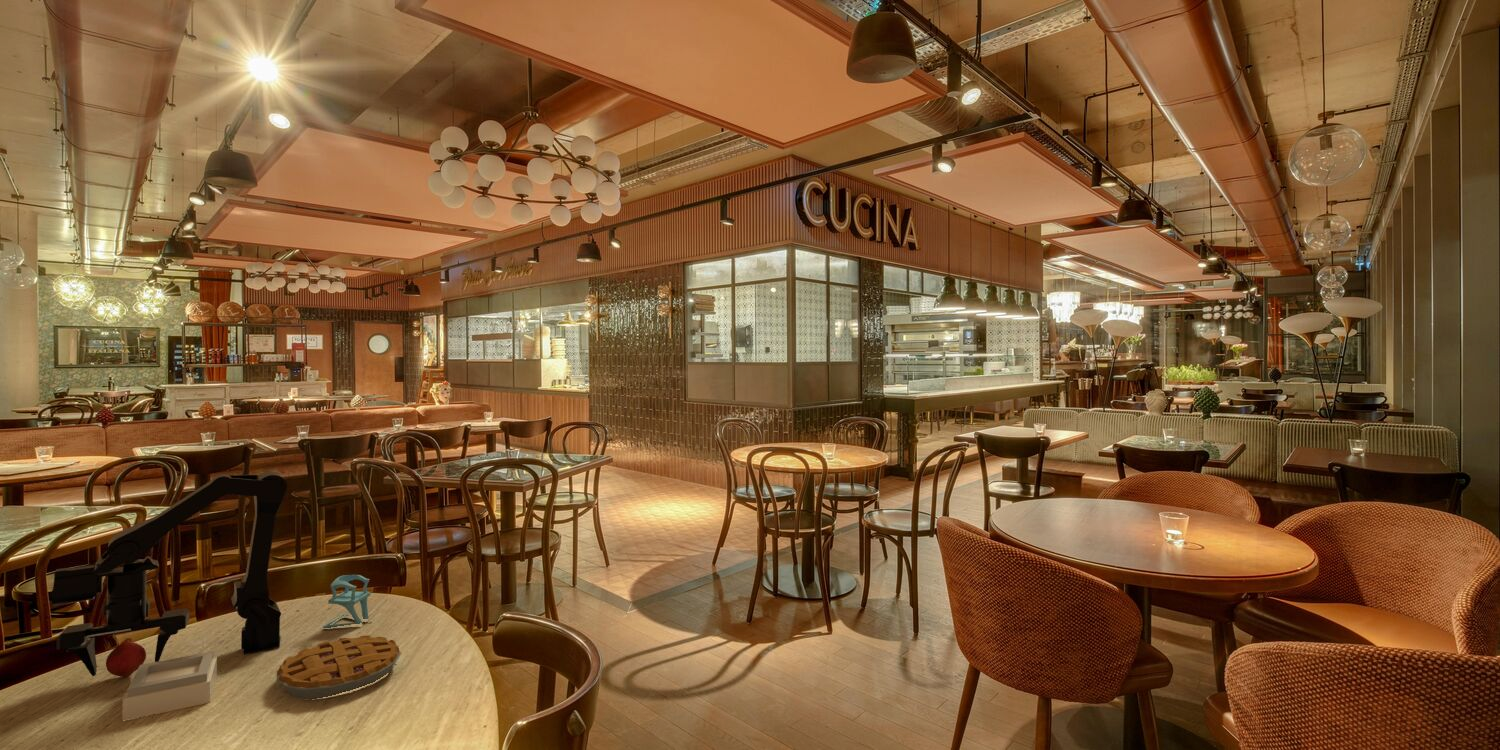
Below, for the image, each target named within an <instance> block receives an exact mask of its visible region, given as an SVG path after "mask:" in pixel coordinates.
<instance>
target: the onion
mask: <svg viewBox="0 0 1500 750" xmlns="http://www.w3.org/2000/svg"><path fill="white" fill-rule="evenodd" d="M132 640H133V639H132V637H126V638H125V639H124V640H123V641H122V642H121V643H120V644H119V645H117V646H116V647H115V648H113V649H112V651H110V652H109V654H108V655H107V658H106V660H105V667H106V670H107V671H108V673H109V674H110V675H113V676H117V677H121V678H129V677H130V676H132V675H133V674H135V673H136V672H137V670H138V668H139V666H140V665H142V664H145V661H146V660H147V652H146V649H145V648H144V647H143V646H142V645H141V644H139V643H137V642H134V641H132ZM134 672H135V673H134Z"/></svg>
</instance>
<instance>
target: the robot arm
mask: <svg viewBox="0 0 1500 750" xmlns="http://www.w3.org/2000/svg"><path fill="white" fill-rule="evenodd" d="M288 487H289V486H288V482H287V480H286V479H285V478H284V476H282V475H281V474H280V473H278V472H276V471H272V470H270V471H265V472H262V473H260V474H225V473H222V474H217V475H216V476H214V477H213V478H212V479H211V480H209V481H208V482H207V483H205V484H203V485H202V486H200V487H198V488H197V489H196V490H194V491H192V492H190V494H187V495H186V496H185V497H183V498H181V499H180V500H178V501H177V502H176V503H173V504H172V505H171V506H169V507H168V508H166V509H165V510H163V511H161V512H160V513H158V514H156V515H155V516H153V517H151V518H148V519H146V520H143V521H141V522H138V523H136V524H134V525H131V526H129V527H128V528H125V529H123V530H121V531H118V533H116V534H114V535H113V536H112V537H111V538H110V539H109V541H108V545H107V549H106V551H105V552H104V553H103V554H102V555H101V556H100V557H99V558H98V559H97V561H95V564H91V565H86V566H78V567H77V566H76V567H62V568H58V569H55V571H54V573H53V574H54V578H53V588H52V589H51V594H50V595H51V606H52V607H55V606H61V605H67V604H74V603H79V602H85V601H91V600H95V597H98V594H102V593H103V586H104V585H103V584H104V577H106V578H107V579H106V600H104V604H103V607H102V608H103V609H102V616H104V617H106V625H102V626H95V627H94V624H93V623H92V622H88V623H85V622H84V623H80V624H79V623H78V624H72V625H68V626H66V627H65V628H64V629H63V630H62V631H61V632H60V633H59V635H58V636H57V638H56V644H55V645H56V647H55V648H56V650H59V651H60V650H66V653H74V655H76V657H77V658H78V659H79V660H80V661H81V662H82V663H83V665H84V666H85V668H86V669H87V671H88V672H89V673H90V675H91V677H95V676H97V668H98V667H97V658H96V650H95V638H99V637H107V636H113V635H117V634H123V633H124V634H125V633H129V632H137V631H144V630H147V629H155V628H159V633H158V635H157V640H156V647H155V654H154V662H159V661H161V657H162V654H163V652H164V650H165V646H166V644H167V642H168V640H169V639H170V637H171V636H175V635H176V634H178V633H179V631H181V630H185V629H186V628H187V625H188V624H189V621H190V610H189V609H188V608H185V607H184V608H178V609H173V610H165V611H164V612H163V614H162V616H159V617H153V618H148V617H149V616H150V605H151V599H150V598H147V571H150V570H156V569H159V567H160V566H159V565H160V564H159V561H157V560H155V559H152V557H151V556H149V555H147V556H146V557H144V556H145V555H146V554H147V553H149V551H151V550H152V548H154V547H155V545H157V544H158V543H159V542H160V540H162V539H163V538H164V536H166V535H167V534H168V533H170V531H172V530H173V529H176V528H177V527H178V526H179V525H181V524H183V523H184V522H186V521H187V520H189V519H190V518H192V517H193V516H194V515H196V514H198V513H199V512H201V511H202V510H204V509H205V508H206V507H208V506H209V505H211V504H212V503H215V502H217V500H219V499H220V498H222V497H223V496H225V495H235V496H246V497H253V502H254V511H255V512H254V519H253V526H252V532H251V538H250V539H251V540H250V543H249V544H250V545H249V550H248V557H247V562H246V563H247V565H246V569H245V570H246V571H245V573H244V576H243V578H242V580H241V581H238V580H237V581H236V580H235V581H234V582H233V585H234V587H233V588H234V592H233V595H232V596H231V597H230V598H231V599H230V600H231V602H232V606H233V608H236V612H237V614H238V616H239V617H240V618H242V619H244V620H245V623H244V626H243V627H242V628H241V631H240V632H241V635H240V636H241V637H240V639H241V642H240V643H241V645H240V647H241V650H243V652H242V653H243V655H247V654H252V653H257V652H258V653H259V652H262V651H268V650H273V649H278V648H280V646H281V637H282V635H281V634H280V633H281V631H280V630H281V615H282V612H281V610H280V607H279V606H278V603H277V601H275V600H273V599H271V598H270V590H269V582H268V581H269V580H268V570H269V565H270V558H271V551H272V547H273V546H272V545H273V539H274V531H275V525H276V521H277V514H278V512H279V510H280V508H281V506H282V504H283V502H284V500H285V496H286V494H287V491H288ZM143 557H144V559H143V560H140V559H142V558H143ZM138 560H139V561H138ZM121 566H122V567H121ZM147 618H148V619H147Z"/></svg>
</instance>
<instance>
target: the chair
mask: <svg viewBox="0 0 1500 750" xmlns="http://www.w3.org/2000/svg"><path fill="white" fill-rule="evenodd" d="M354 580H358V581H361V582H363V583H364V584H363V587H362V591H356V590H357V585H353V584H351V583H349V582H351V581H354ZM369 582H370V578H366V577H364V576H363V575H360V574H348V575H347V574H345V575H341V576H338V577H336V578H335V580H334V581H333V582H331V584H330V585H329V586H330V589H331V592H332V597H331V598H330V599H328V602H327V603H328V604H330V605H338V606H340V607H341V606H342V607H343V608H345V609H346V610H347V612H349V615H348V613H342V614H341V615H339V616H338V617H336V618H334V619H332V620H331V621H329V622H328V623H326V624H325V625H323V626H322V629H323V628H331V627H337V626H344V625H351V624H360V623H363V622H362V621H361V619H360V618H359V617H360V616H359V615H358V613H357V611H356V609H355V605H356V604H358V603H360V607H361V613H362V614H361V617H363V619H369V620H370V617H369V607H368V597H369V596H371V591H368V589H367V587H368V584H369ZM339 588H344V591H342V592H341V593H340V594H337V591H336V589H339ZM344 615H346V616H351V615H352V617H353V618H354V620H355V621H354V622H347V623H335V624H333V625H330V624H332V623H333V622H335V621H336V620H337V619H339V618H340V617H342V616H344ZM363 624H364V623H363Z"/></svg>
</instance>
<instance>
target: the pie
mask: <svg viewBox="0 0 1500 750" xmlns="http://www.w3.org/2000/svg"><path fill="white" fill-rule="evenodd" d="M401 655H402V653H401V650H400V648H399V645H398V644H397V643H396V641H395V640H394V639H389V640H388V639H387V637H384V636H376V637H373V636H371V635H366V634H365V635H361V636H359V637H352V638H351V637H340V638H339V639H338V640H334V641H332V642H330V641H324V642H321V643H318V644H317V645H316V646H314V647H311V648H304V649H302V650H300V651H298V652H297V653H296V654H295V655H294V656H288V657H286V658H285V659H284V660H283V662H282V664H281V665H279V668H278V669H277V671H276V681H277V682H278V683H279V684H281V685H282V687H283V688H284V689H285V692H287V693H288V694H290V695H291V696H292V697H294V698H295V699H300V698H301V700H305V699H306V701H313V700H312V699H317V698H323V697H328V696H332V695H336V694H339V693H342V692H346V691H350V690H353V689H356V688H359V687H362V686H365V685H367V684H370V683H373V682H375V681H376V680H378V679H380V678H381V677H383V676H384V675H386V674H387V673H389V672H390V673H391V671H392V669H393V667H394V665H395V664H396V663H397V662H398V659H399V658H400V656H401ZM390 670H391V671H390ZM390 673H389V674H390Z"/></svg>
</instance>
